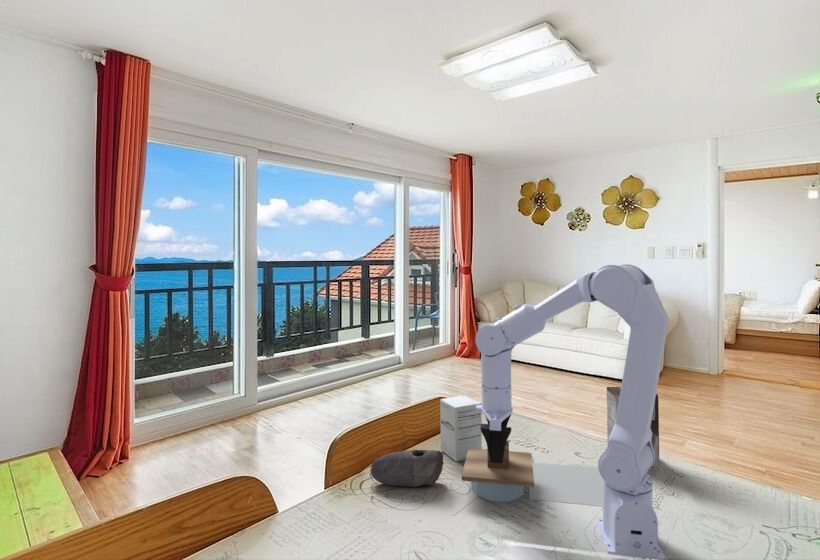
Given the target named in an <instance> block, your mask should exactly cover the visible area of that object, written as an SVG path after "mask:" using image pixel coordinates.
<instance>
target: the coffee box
mask: <svg viewBox="0 0 820 560" xmlns="http://www.w3.org/2000/svg"><path fill="white" fill-rule="evenodd" d="M620 392H621V386H606V430H607V431H606V434H607V435H606V436H607V439H606V440H607V446H608V441H609V437H610V435H611V432H612V430H613V428H614V425H615V422H616V416H617V410H618V404H619V398H620ZM659 410H660V409H659V394H658V393H656V397H655V403H654V409H653V414H652V420H651V426H650V429H651V431H652V439H651V443H652V447H653V450H654V453H655V461H654V463H653V465H652V467H653V466H654V467H660V426H659V425H660V419H659ZM607 446H606V447H607Z"/></svg>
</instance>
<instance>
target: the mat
mask: <svg viewBox="0 0 820 560" xmlns="http://www.w3.org/2000/svg"><path fill="white" fill-rule="evenodd" d="M532 464H533V475H534V487H528V494H529V495H528V496H529V497H528V498H529V500H533V501H534V500H535V501H546V502H553V503H554V502H555V503H563V504H564V503H565V504H567V503H568V504H575V505H585V506H594V507H603V478H602V476H601V474H600V472H599V469H598V467H595V466H594V467H593V466H583V465H582V466H579V465H571V464H569V465H568V464H557V463H546V462H545V463H543V462H533V461H532Z"/></svg>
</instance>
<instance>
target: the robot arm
mask: <svg viewBox="0 0 820 560" xmlns="http://www.w3.org/2000/svg"><path fill="white" fill-rule="evenodd" d="M583 302H584V303H594V302H599V303H601V304H602V305H604V306H605V307H607V308H609V309H610V310H612V311H614V312H615V313H617V314H618V315H619V317H621V318H622V320H623V321H624V322H625V323H626V324H627V326H629V328H630V333H629V338H628V345H627V351H626V357H625V363H624V367H623V368H624V369H623V375H622V381H621V386H620V387H621V392H620V398H619V404H618V410H617V416H616V422H615V425H614V428H613V430H612V432H611V435H610V437H609V441H608V443H607V444H608V446H606V448H605V450H604V451H603V453H602V454H601V455H600V456H599V457H598V462H597V468H598V469H599V472H600V474H601V476H602V478H603V506H602V517H601V516H598V517H596V521H597V525H598V528H599V530H600V533H601V536H602V539H603V542H604V545H605V549H606V551H607V554H609V555H616V556H623V557H630V558H631V557H632V558H638V559H639V558H640V559H648V560H665V559H666V556H665V554H664V553H663V551H662V549H661V547H660V545H659V543H658V542H659V532H658V531H659V527H658V525H659V520H658V519H659V518H658V516H657V513H656V511H655V509H654V506H653V481H652V479H651V475H650V474H649V471H648V470H649V469H651V468H652V467H653V466H652V465H653V463H654V461H655V453H654V450H653V447H652V443H651V439H652V431H651V429H650V426H651V420H652V414H653V409H654V403H655V397H656V394H657V390H658V385H659V380H660V374H661V368H662V362H663V358H664V356H663V355H664V353H665V352H664V351H665V346H666V342H667V335H668V328H669V323H670V322H669V320H670V319H669V315H668V313H667V311H666V308H665V306H664V305H663V303H662V300H661V298H660V296H659V294H658V292H657V290H656V287H655V283H654V280H653V279H652V278H651V277H650V276H649V275H648V274H646V273H645V272H644V270H642V269H641V268H640V267H638V266H636V265H634V264H621V265H617V264H606V265H603V266H601V267H599V268H598V269H597V270H596V271H591V272H589V273H587V274H584V275H582V276H581V277H579V278H577V279H575V280H574V281H572V282H571V283H569V284H567V285H566V286H564V287H562V288H561V289H559V290H558V291H556V292H555V293H554V294H552V295H551V296H548V297H547V298H546V299H544V300H542V301H541V302H539V303H538V304H537V305H534V304H532V303H524V304H523V303H518V304H516V305H515V306H513V309H514V310H513V311H511V312H510V313H508V314H507V315H504V316H498V317H497V318H495V323H493V324H484V325H482V327H480V328H479V329H478V330H477V332H476V334H475V339H474V340H475V345H476V348H477V350H478V351H479V352H480V355H481V358H480V361H481V363H480V364H481V370H480V371H481V405H477V406H476V411H480V412H482V414H483V416H484V417H485V419H486V422H487V423H482V424H481V427H480V429H481V432H482V436H483V438H484V440H485V444H486V446H487V447H488V453H489V457H490V461H491V463H502V461H503V457H504V451H505V445H506V442H507V441H508V439H509V437H510V435H511V433H512V427H511V426H509V427H508V424H509V421H510V418H511V416H512V414H513V410H514V409H513V407H512V351H513V349H515V347H516V346H517V345H518V344H521V343H523V342H524V341H526V340H528V339H530V338H532V337H534V336H535V335H537V334H539V333H541V332H543V331H544V330H545V327H546V322H547V320H550V319H551V318H554V317H555V316H558V315H560V314H562V313H563V312H565V311H568V310H570V309H571V308H574V307H575V306H577V305H579V304H581V303H583Z"/></svg>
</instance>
